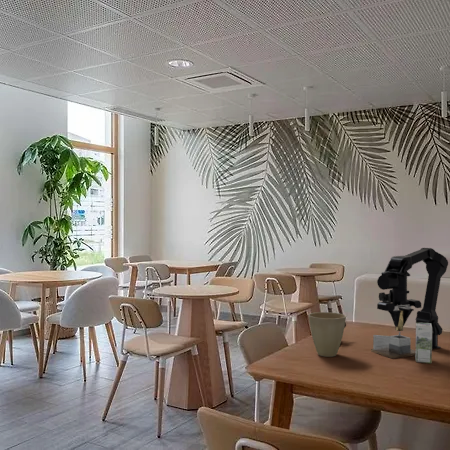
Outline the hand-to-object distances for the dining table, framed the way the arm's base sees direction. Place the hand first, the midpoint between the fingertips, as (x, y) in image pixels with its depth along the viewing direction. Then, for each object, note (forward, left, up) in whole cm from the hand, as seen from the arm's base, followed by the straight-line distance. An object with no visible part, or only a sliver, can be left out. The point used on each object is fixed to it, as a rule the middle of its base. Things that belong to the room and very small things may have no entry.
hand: (399, 326), depth 206 cm
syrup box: (-1, +12, -12) cm, 17 cm away
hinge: (0, -2, -11) cm, 11 cm away
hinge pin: (0, 0, -2) cm, 2 cm away
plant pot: (+27, -12, -12) cm, 32 cm away
